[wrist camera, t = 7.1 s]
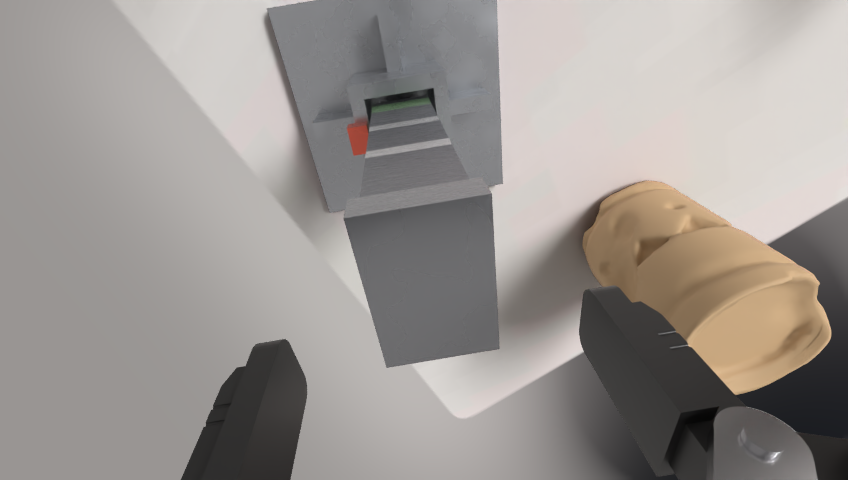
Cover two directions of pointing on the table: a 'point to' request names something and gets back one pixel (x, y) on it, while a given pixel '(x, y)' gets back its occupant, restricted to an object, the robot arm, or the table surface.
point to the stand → (391, 78)
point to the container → (709, 283)
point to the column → (423, 239)
